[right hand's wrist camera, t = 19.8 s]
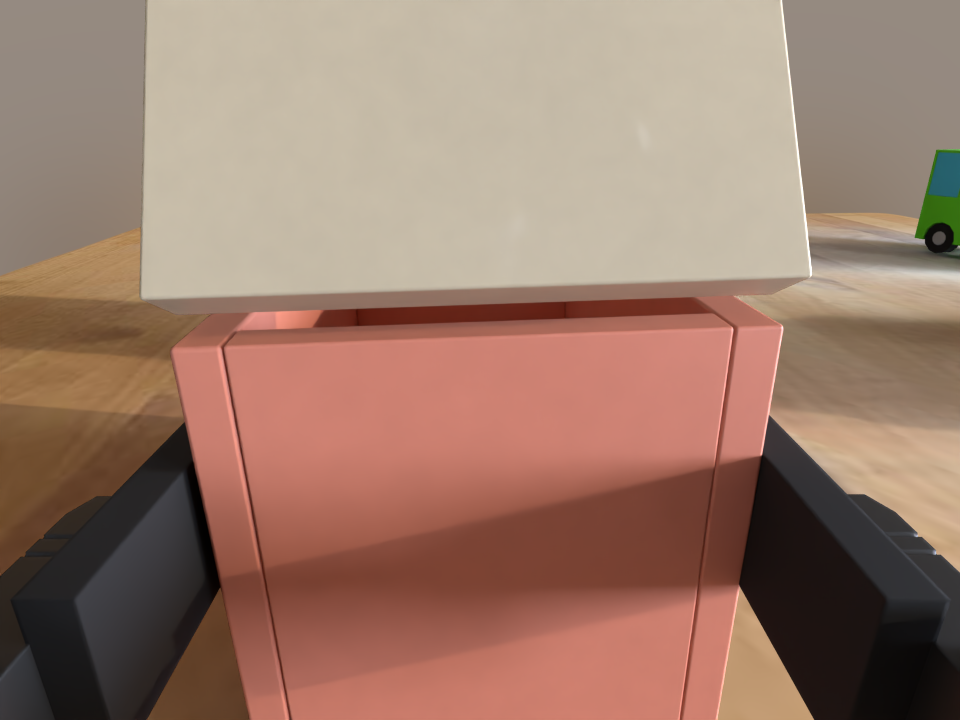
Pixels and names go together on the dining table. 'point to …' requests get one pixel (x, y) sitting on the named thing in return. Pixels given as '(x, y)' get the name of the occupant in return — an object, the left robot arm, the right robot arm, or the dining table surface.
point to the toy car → (942, 204)
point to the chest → (481, 503)
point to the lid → (466, 153)
